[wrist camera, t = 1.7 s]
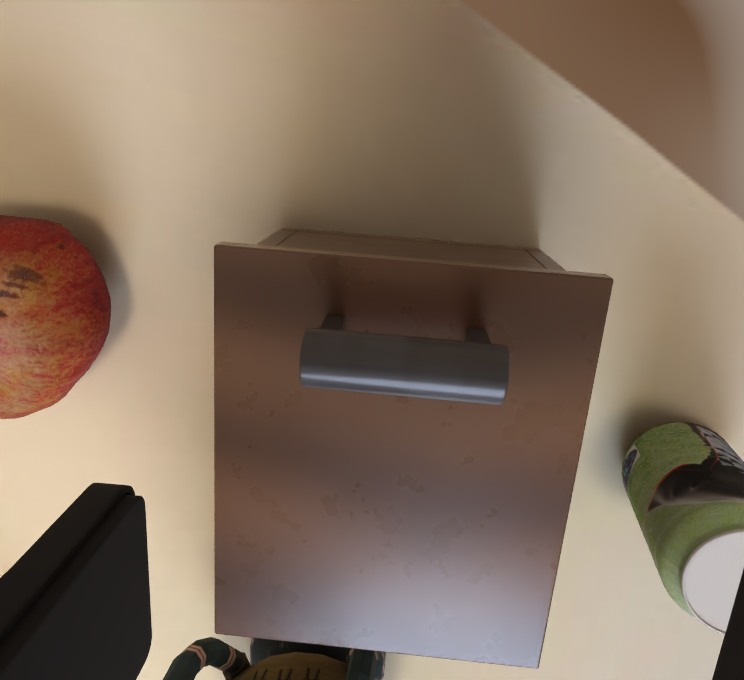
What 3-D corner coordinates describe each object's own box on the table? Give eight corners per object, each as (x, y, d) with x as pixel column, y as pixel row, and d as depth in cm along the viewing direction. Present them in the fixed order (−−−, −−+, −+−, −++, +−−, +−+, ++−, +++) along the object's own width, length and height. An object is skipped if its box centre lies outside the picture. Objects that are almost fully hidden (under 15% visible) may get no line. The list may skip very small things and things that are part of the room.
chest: (282, 227, 34) (220, 265, 23) (540, 248, 33) (602, 298, 22) (274, 485, 38) (220, 620, 27) (499, 508, 38) (534, 653, 27)
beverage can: (699, 519, 37) (826, 683, 26) (580, 488, 37) (654, 641, 26) (743, 425, 35) (901, 559, 24) (618, 394, 35) (716, 512, 24)
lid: (220, 241, 22) (162, 269, 17) (607, 274, 22) (667, 312, 17) (219, 620, 27) (175, 729, 22) (535, 654, 27) (564, 774, 22)
